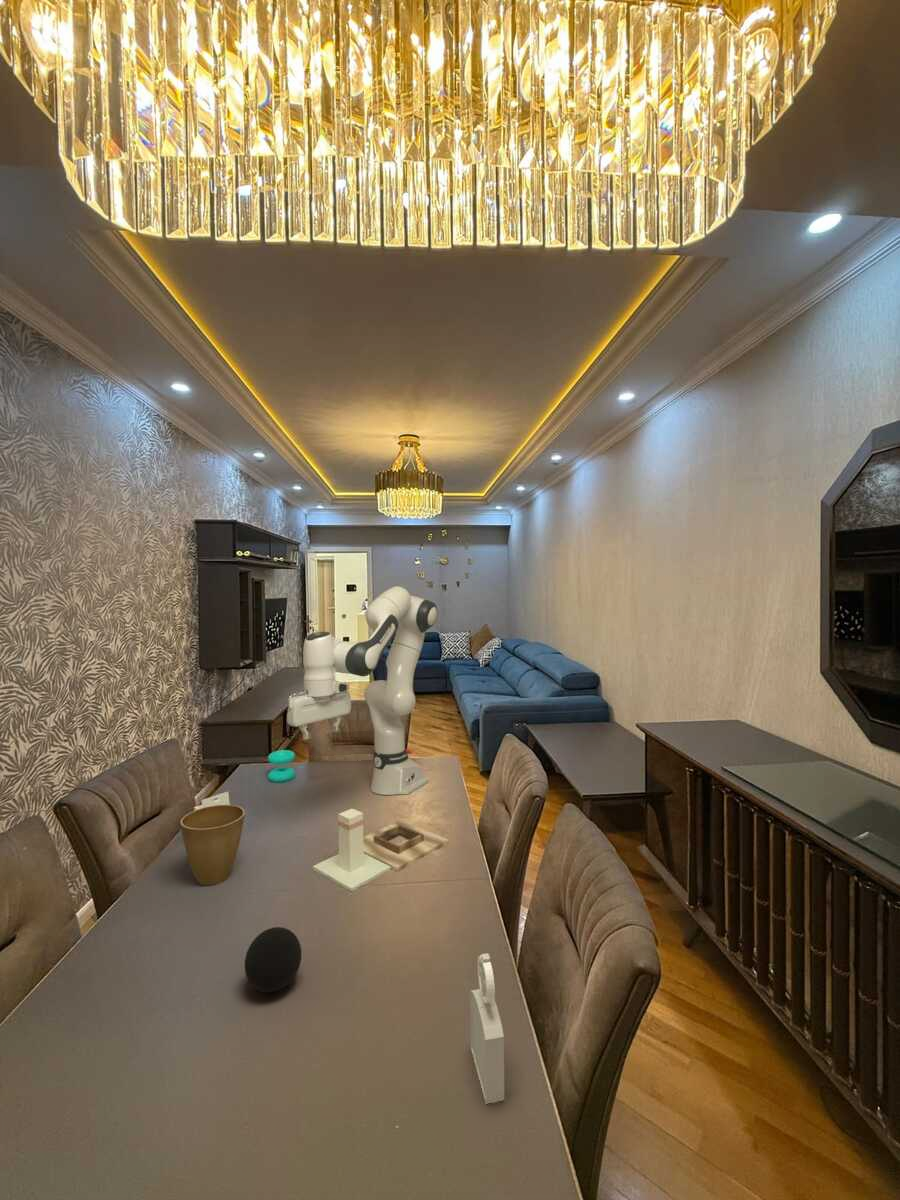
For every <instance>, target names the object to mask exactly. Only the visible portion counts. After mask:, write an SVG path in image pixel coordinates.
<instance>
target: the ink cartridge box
mask: <svg viewBox="0 0 900 1200" xmlns="http://www.w3.org/2000/svg"><path fill="white" fill-rule="evenodd" d="M215 805H231V801H230V795H229V791H225V792H222V793H218V794H215V795H213V796H210V797H207V798H204V799H202V800H201V805H198V806H194V807H193V811H195V810H198V809H201V808H204V807H209V806H215Z"/></svg>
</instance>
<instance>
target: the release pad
mask: <svg viewBox="0 0 900 1200" xmlns="http://www.w3.org/2000/svg"><path fill="white" fill-rule="evenodd" d="M312 870H314V871H315V872H317V873H318V874H319V875H321V876H323V877H325V878H327V879H329V880H330V881H332V882H333V883H336V884H337V885H339V886H340V887H343V888H344V889H346V890H347V891H349V890H350V892H351V891H352V892H354V891H355V890H357V889H359V888H361V887H363V886H364V885H366V884H368V883H370V882H371V881H373V880H376V879H377V878H378V877H381V876H382V875H384V874H386V873H388V872H390V871H391V870H392V869H391V867H390V866H388V865H386V864H384V863H382V862H380V861H378V860H376V859H374V858H372V857H370V856H368V855H366V854H364V866H363V867H361V868H359V869H357V870H355V871H353V872H351V873H349V872H347V871H345V870H343V869H342V868H340V867H339V853H337V854H335V855H333V856H331V857H329V858H327V859H324V860H323V861H321V862H318V863H316V864H315V865H312ZM362 885H363V886H362ZM360 886H361V887H360ZM358 887H359V888H358ZM353 890H354V891H353Z"/></svg>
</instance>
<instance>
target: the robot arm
mask: <svg viewBox="0 0 900 1200" xmlns="http://www.w3.org/2000/svg"><path fill="white" fill-rule="evenodd" d="M364 613H365V621H366V624H367V626H368V627H369V628H370V630H371V631H373V633H372V634H371V635H370V637H369V638H368V639H366V640H363V641H347V640H345V641H344V640H342V639H338V638H336V637H334V635H332V633H331V632H329V631H318V632H316V631H315V632H313V633H309V635H307V636H306V637H305V639H304V642H303V650H302V651H303V652H302V658H303V659H302V664H303V667H304V675H303V691H302V690H301V691H298V692H293V693H292V694H291V695H290V696H289V697H288V699H287V706H288V707H287V714H286V715H287V716H286V722H287V724H288V725H289V726H290V727H294V728H295V727H296V728H297V727H298V728H299V729H300V731H301V733H302V738H303V740H306V741H308V740H310V739H312V735H311V734H312V733H311V732H310V731H309V732H308V730H307V729H308V725H309V724H314V723H317V722H321V721H322V722H323V721H324V720H329V719H333V722H332V725H329V731H330V732H331V733H335V732H338V726H339V724H340V722H341V720H342V716H346V715H349V714H350V713H351V711H352V699H351V693H350V692H349V690H350V684H349V683H346V682H342V681H339V680H336V676H335V673H340V674H347V675H348V674H349V675H354V676H357V677H367V676H369V675H370V674H372V673H373V672H374V671H375V670H376V668H377V666H378V664H379V661H380V658H381V657H382V655H383V654H384V652H385V651H386V649H387V648H388V646H389V644H390V643H391V642H392V644H391V647H390V650H389V651H388V656H387V658H386V661H385V666H386V668H387V676H386V680H385V679H380V680H372V681H371V682H369V683H368V684H367V685H366V687H365V689H364V691H363V692H364V693H363V697H364V700H365V702H366V703H367V705H368V709H369V713H370V717H371V721H372V722H371V723H372V726H373V733H374V734H373V735H374V736H373V739H374V745H373V747H374V749H373V753H372V754H373V755H372V756H373V772H372V779H371V784H370V785H371V786H370V791H371V792H373V793H374V794H377V795H383V796H384V795H385V796H392V795H409V794H411V793H412V792H414V791H415V790H417V789H419V788H420V787H423V785H426V783H428V782H429V778H428V777H427V776H425V775H423V771H422V767H421V765H420V764H419V763H417V762H416V761H414V760H413V759H412V758H410V757H409V755H413V753H414V749H413V748H410V747H408V748H407V747H405V745H406V744H405V740H406V739H405V727H404V725H403V722H402V721H401V718H400V717H401V716H407V715H409V714H410V713H411V712H412V711H413V710H414V708H415V706H416V702H417V701H416V695H415V692H414V675H415V671H416V667H417V664H418V661H419V658H420V654H421V652H422V648H423V644H424V640H425V636H426V632H427V631H428V630H430V629H431V628H432V627H433V626H434V625H435V623H436V622H437V619H438V614H439V612H438V607H437V605H436V603H435V602H433V601H432V600H429V599H424V598H421V597H419V596H415V595H411V594H410V593H409V591H408V590H407V589H405V587H403V586H398V585H396V586H392V587H391V588H388V589H387V590H384V591H383V592H382V593H381V594H379V595H378V596H377V597H376V598H375V599H374V600H373V601H372V602H370V604H368V606H367V608H366V610H365V612H364ZM399 625H400V626H399ZM393 638H394V639H393ZM392 640H393V641H392ZM408 754H409V755H408Z"/></svg>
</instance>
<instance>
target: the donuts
mask: <svg viewBox="0 0 900 1200" xmlns="http://www.w3.org/2000/svg"><path fill="white" fill-rule="evenodd" d="M295 757H296V753H295V752H294V751H292V750H289V749H280V750H275V751H273V752H271V753H269V755H268V757H267V760H268V762H269V763H270V764H273V765H278V766H279V765H285V764H289V763H291V762H292V761H293V760H294V759H295ZM295 776H296V771H295V769H294V768H293V767H289V766H281V767H276V768H274V769H273V768H272V770H270V771H269V773H268V779H269V781H271V782H273V783H283V781H284V782H287V781H291V780H292V779H293V778H295ZM290 779H291V780H290Z"/></svg>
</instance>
